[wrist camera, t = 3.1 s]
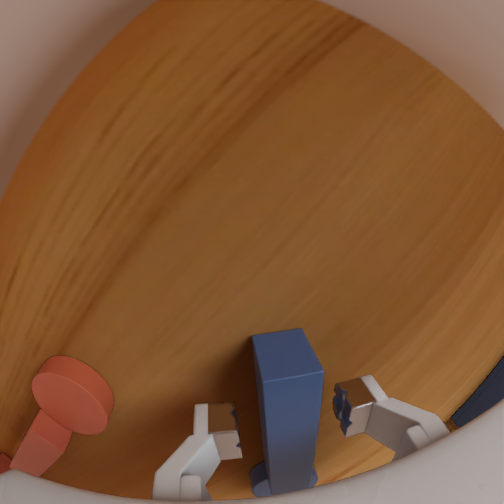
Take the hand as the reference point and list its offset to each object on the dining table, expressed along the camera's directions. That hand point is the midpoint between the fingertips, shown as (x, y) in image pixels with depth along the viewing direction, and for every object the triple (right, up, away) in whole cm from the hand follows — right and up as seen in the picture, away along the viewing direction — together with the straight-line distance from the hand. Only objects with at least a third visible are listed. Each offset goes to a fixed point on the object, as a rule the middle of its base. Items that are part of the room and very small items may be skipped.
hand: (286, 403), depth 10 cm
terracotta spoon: (-13, -4, +1) cm, 13 cm away
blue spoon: (0, -3, +3) cm, 4 cm away
